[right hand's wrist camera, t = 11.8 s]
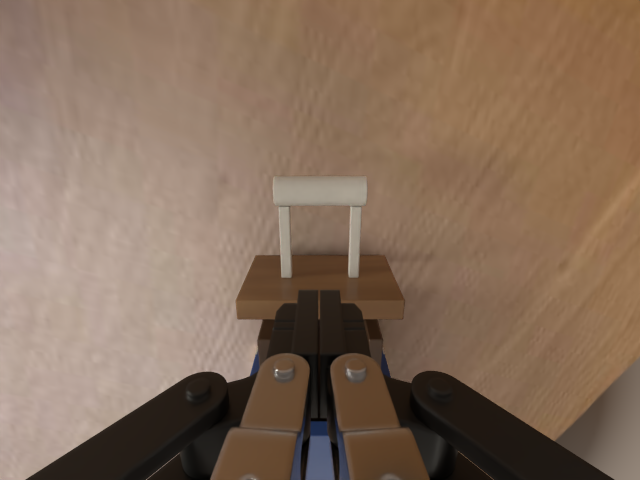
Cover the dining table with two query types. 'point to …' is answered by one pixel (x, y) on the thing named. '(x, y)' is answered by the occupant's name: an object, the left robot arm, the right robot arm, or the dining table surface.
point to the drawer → (320, 266)
